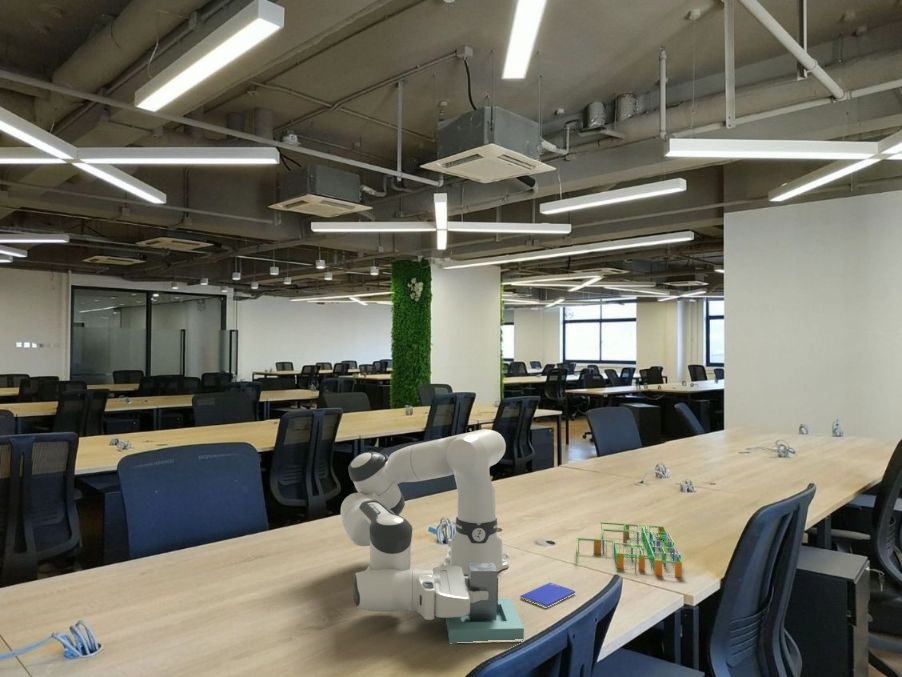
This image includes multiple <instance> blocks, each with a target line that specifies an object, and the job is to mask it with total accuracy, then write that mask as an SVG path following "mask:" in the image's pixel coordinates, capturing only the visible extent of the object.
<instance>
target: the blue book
mask: <svg viewBox="0 0 902 677" xmlns="http://www.w3.org/2000/svg"><path fill="white" fill-rule="evenodd" d="M574 593H575V594H576V591H575V590H573V589H570V588H568V587H564V586H562V585H560V584H556V583H554V582H548V583H545V584H543V585H541V586H539V587H537V588H535V589H532V590H531V591H527V592H526V593H523V594H521V595H520V596H519V599H520V598H522V599H525V600H528V601H531V602H534V603H536V604H539V605H542V606H544V607H548V606H550V605H552V604H554V603H556V602H558V601H560V600H562V599H564V598H566V597H568V596H570V595H572V594H574ZM522 599H521V600H522ZM525 600H524V601H525Z"/></svg>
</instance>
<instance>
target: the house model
mask: <svg viewBox="0 0 902 677" xmlns="http://www.w3.org/2000/svg"><path fill="white" fill-rule="evenodd" d="M603 525H615V526H623V529H621V530H620V529H610V528H609V529H608V528H603ZM630 527H637V528H639V527H640V531H639V530H633V529H632V530H631V529H630ZM648 527H649V528H648ZM651 528H653V529H657V531H656V533H655V531H652V530H651ZM600 529H601V539H597V538H584V537H583V538H582V537H576V546H575V548H576V549H575V552H576V553H575V556H576V560H575V561H576V562H575V563H577V564H578V553H579V552H580V541H584V542H586V541H587V542H593V554H600V555H601V554H602V555H605V554H606V555H607V549H608V548H607V546H608V545H607V544H608V543H610V544H611V545H613V558H614V564H615V569H616V572H618V571H619V570H625V569H626V570H628V567H625V562H624V561H625V559H624V558H626V559H628V561H629V563H630V560H631V562H633V561H634V567H631V569H632V570H634V573H637V569H638V571H641V570H642V571H643V572H645V566H646V565H645V563H646V562H645V561H646V560H649V562H650V571H651V572H652V571H654V572H653V574H654V576H655V575H660V576H659V577H663V576H669V577H674V578H676V577H682V576H683V574H682V570H683V567H682V566H683V562H682V560H681V553H680V552H679V550H678V548H676V547H675V542H674V540H673V538H672V536H671V534H670V533H669V532H667V531H666V529H665V527H664V526H658V525H646V524H645V525H644V524H643V525H642V524H630V523H616V522H615V523H614V522H601V521H600ZM604 532H612V533H613V532H615V533H622V542H621V543H620V542H616V541H615V540H614V539H613V540H610V539H605V536H604ZM630 533H635V535H636V537H631V539H633V540H632V541H631V540H630V541H629V543H628V542H627V540H628V538H630ZM648 537H649V538H648ZM640 539H641V541H642V543H641V544H639V540H640ZM660 539H662V540H660ZM635 540H636V541H635ZM663 540H664V541H663ZM650 544H651V545H650ZM627 545H628V546H627ZM633 545H634V546H633ZM666 545H667V546H666ZM625 546H627V552H625V553H623V552H624V549H625ZM637 546H639V547H637ZM617 547H618V548H619V550H618V549H617ZM669 547H670V548H669ZM621 548H623V550H622V551H623V552H622V553H620V550H621ZM634 548H635V551H634ZM644 548H645V550H646V554H644V552H645V550H644ZM658 548H659V549H658ZM637 549H638V550H637ZM655 549H658V551H656V550H655ZM664 550H665V551H664ZM617 551H618V552H619V553H618V552H617ZM659 551H661V553H660V552H659ZM668 552H669V553H668ZM637 553H639V554H637ZM672 553H673V554H672ZM656 556H660V558H661V559H660V558H659V559H657V558H656ZM669 556H670V557H669ZM667 557H669V560H667V559H668V558H667ZM671 557H672V558H671ZM633 559H634V560H633ZM637 559H638V560H637ZM672 559H673V560H672ZM637 564H638V568H637ZM667 564H673V565H674V575H673V574H671V575H670V574H663V568H664V567H667ZM618 568H619V569H618ZM642 571H641V572H642Z"/></svg>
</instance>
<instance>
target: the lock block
mask: <svg viewBox="0 0 902 677" xmlns="http://www.w3.org/2000/svg"><path fill="white" fill-rule="evenodd" d="M467 576H468V587H467V589H468V591H473V592H475V591H480V589H486V590H487V591H488V599H487V600H480V601H477V602H474V603H470V613H469V614H468V616H469V620H470V621H496V618H497V610H498V598H499V577H498V572H497V569H496V567H495V564H494V563H468V575H467Z"/></svg>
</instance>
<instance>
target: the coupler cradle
mask: <svg viewBox="0 0 902 677" xmlns="http://www.w3.org/2000/svg"><path fill="white" fill-rule="evenodd" d="M444 619H446V620H445V626H446V625H447V626H446V632H447V631H448V633H447V637H448V638H449V639H448V644H449V643H457V642H473V641H488V640H515V639H523V640H524V638H525V635H524V634H525V632H524V630H525V628H524V626H523V622H522V620H521V619H520V616H519V614H518V611H517V609H516V607H515V604H514V603H513V599H512V597H498V610H497V618H496V621H470V620H469V616H468V615H466V616H463V617H452V618H444ZM523 640H522V641H523ZM524 641H525V640H524ZM520 642H521V641H520ZM521 643H522V642H521Z"/></svg>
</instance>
